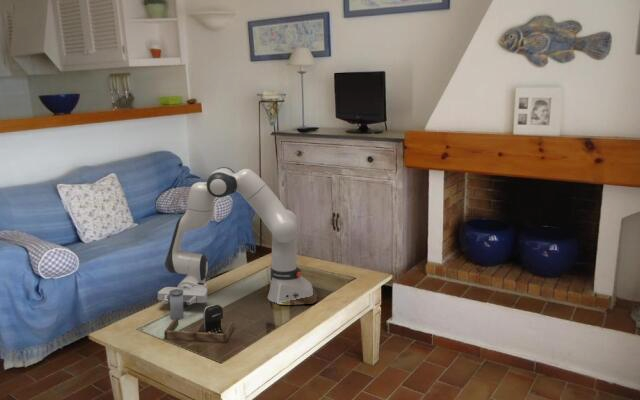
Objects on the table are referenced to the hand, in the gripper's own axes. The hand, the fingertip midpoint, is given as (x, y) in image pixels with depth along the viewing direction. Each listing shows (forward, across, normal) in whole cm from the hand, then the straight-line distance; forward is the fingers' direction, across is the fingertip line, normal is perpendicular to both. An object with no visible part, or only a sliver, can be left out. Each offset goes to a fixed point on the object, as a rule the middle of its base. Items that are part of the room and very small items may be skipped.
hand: (177, 302), depth 219 cm
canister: (+1, 0, +6) cm, 6 cm away
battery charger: (+14, +19, +6) cm, 24 cm away
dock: (+13, +13, +6) cm, 20 cm away
